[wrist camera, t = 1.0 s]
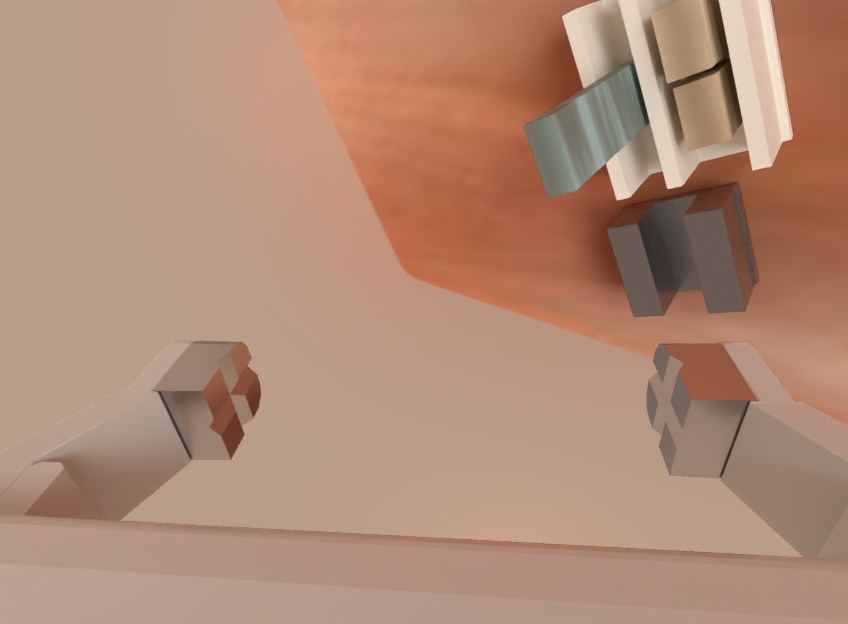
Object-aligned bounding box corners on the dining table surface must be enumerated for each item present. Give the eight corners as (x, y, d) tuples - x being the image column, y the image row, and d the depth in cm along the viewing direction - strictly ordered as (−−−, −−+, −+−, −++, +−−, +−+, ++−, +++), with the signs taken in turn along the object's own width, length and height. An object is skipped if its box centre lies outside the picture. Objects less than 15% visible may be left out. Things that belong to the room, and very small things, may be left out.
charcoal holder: (738, 182, 46) (724, 208, 42) (759, 279, 49) (747, 311, 45) (625, 206, 53) (604, 229, 49) (649, 289, 56) (631, 317, 53)
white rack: (757, -81, 36) (738, -77, 32) (793, 135, 42) (781, 164, 37) (588, 7, 45) (555, 19, 41) (635, 175, 51) (610, 201, 46)
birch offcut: (733, 56, 40) (716, 73, 37) (745, 118, 42) (730, 140, 38) (692, 71, 42) (672, 88, 39) (705, 129, 44) (687, 151, 40)
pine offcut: (718, -19, 38) (695, -8, 34) (731, 48, 40) (711, 67, 36) (676, 1, 41) (650, 14, 36) (691, 64, 42) (667, 83, 38)
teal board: (649, 52, 44) (550, 115, 31) (664, 109, 45) (575, 191, 33) (627, 61, 45) (523, 126, 32) (641, 116, 47) (548, 198, 34)
